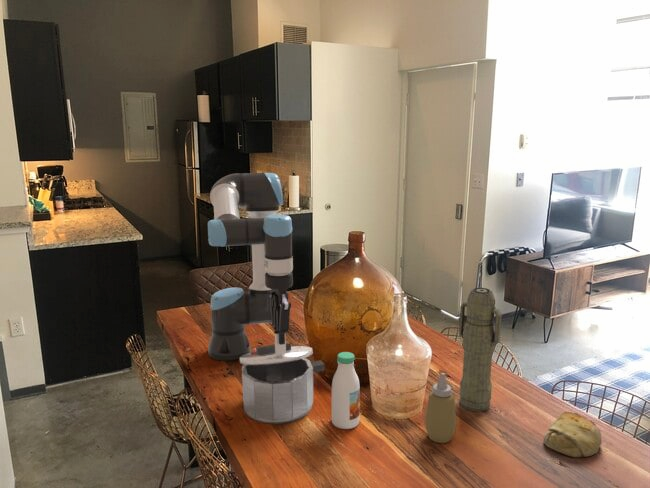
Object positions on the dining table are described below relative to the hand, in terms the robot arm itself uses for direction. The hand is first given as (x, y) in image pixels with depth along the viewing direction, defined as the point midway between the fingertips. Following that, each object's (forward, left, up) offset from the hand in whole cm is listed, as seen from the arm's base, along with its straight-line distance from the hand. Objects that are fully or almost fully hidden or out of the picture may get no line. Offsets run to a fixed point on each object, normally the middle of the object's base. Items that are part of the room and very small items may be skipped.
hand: (280, 353), depth 145 cm
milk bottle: (-9, +17, -18) cm, 26 cm away
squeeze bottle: (-22, +39, -18) cm, 48 cm away
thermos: (-44, +36, -18) cm, 60 cm away
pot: (-3, -3, -18) cm, 18 cm away
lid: (-1, -4, -3) cm, 5 cm away
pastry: (-44, +64, -18) cm, 80 cm away
